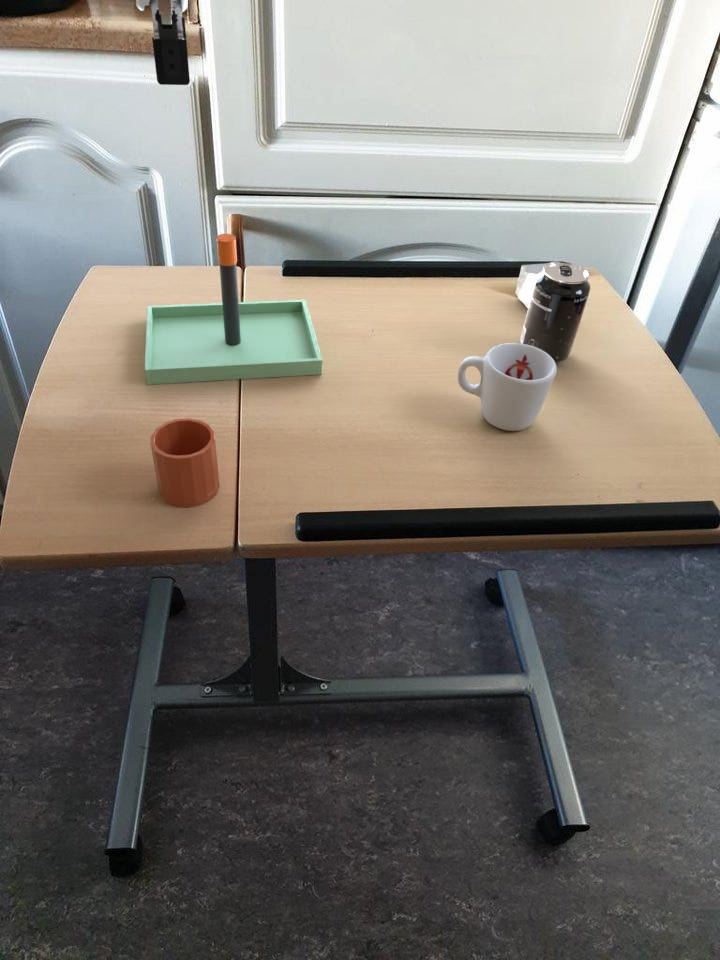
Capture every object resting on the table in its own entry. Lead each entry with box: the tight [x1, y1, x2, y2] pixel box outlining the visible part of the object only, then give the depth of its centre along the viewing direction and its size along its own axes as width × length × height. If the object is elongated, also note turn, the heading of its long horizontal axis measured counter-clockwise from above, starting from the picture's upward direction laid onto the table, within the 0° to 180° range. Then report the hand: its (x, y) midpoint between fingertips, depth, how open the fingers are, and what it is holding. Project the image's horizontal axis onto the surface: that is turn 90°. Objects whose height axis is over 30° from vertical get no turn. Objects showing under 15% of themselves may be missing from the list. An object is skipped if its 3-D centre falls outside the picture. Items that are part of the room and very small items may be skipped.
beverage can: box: [519, 260, 591, 364], centre depth 91 cm, size 7×7×12 cm
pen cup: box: [150, 417, 220, 508], centre depth 70 cm, size 6×6×6 cm
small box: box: [514, 262, 549, 309], centre depth 104 cm, size 6×6×5 cm
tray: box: [144, 299, 323, 386], centre depth 91 cm, size 21×15×2 cm
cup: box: [457, 342, 558, 432], centre depth 82 cm, size 11×8×8 cm
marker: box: [216, 233, 241, 346], centre depth 86 cm, size 2×2×14 cm
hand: (173, 71), depth 74 cm, fingers open, 9 cm apart
